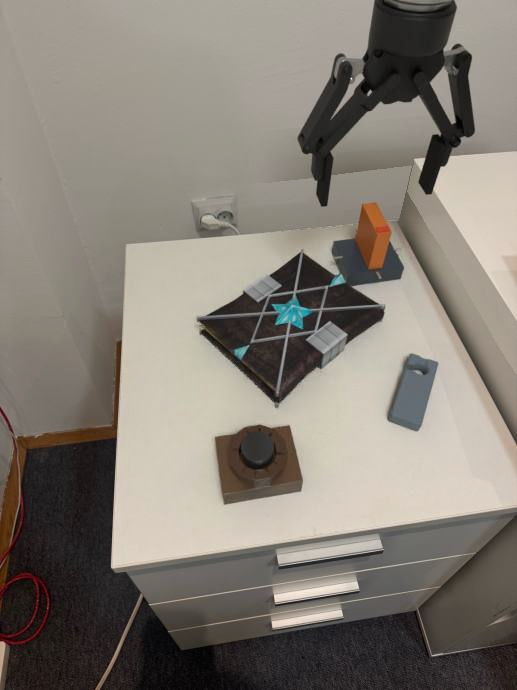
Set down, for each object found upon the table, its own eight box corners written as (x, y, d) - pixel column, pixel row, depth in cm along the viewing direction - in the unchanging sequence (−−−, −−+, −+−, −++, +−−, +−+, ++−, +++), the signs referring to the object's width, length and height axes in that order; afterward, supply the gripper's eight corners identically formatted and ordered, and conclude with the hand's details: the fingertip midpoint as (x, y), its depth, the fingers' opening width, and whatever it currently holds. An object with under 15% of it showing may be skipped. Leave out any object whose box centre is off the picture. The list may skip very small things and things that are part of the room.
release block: (288, 437, 60) (290, 417, 56) (301, 491, 56) (304, 474, 52) (216, 448, 59) (213, 429, 55) (224, 504, 55) (221, 488, 51)
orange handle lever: (354, 239, 79) (362, 202, 73) (367, 238, 79) (376, 200, 73) (368, 269, 74) (377, 232, 69) (382, 268, 75) (392, 230, 69)
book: (277, 409, 63) (278, 389, 59) (196, 334, 70) (192, 311, 66) (383, 321, 71) (390, 298, 67) (300, 263, 79) (303, 239, 75)
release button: (270, 435, 55) (270, 428, 54) (276, 465, 53) (277, 458, 52) (239, 441, 55) (238, 433, 54) (244, 470, 53) (243, 464, 51)
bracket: (387, 421, 62) (390, 413, 60) (406, 360, 67) (410, 351, 66) (417, 432, 61) (422, 425, 59) (435, 369, 66) (439, 361, 65)
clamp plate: (386, 238, 83) (389, 226, 80) (411, 285, 76) (415, 272, 74) (322, 247, 81) (324, 234, 79) (342, 295, 75) (344, 283, 73)
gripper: (292, 22, 41) (283, 224, 58) (564, 2, 44) (479, 201, 60) (275, -9, 45) (271, 187, 62) (522, -26, 48) (454, 167, 65)
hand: (373, 194), depth 61 cm, fingers open, 13 cm apart
